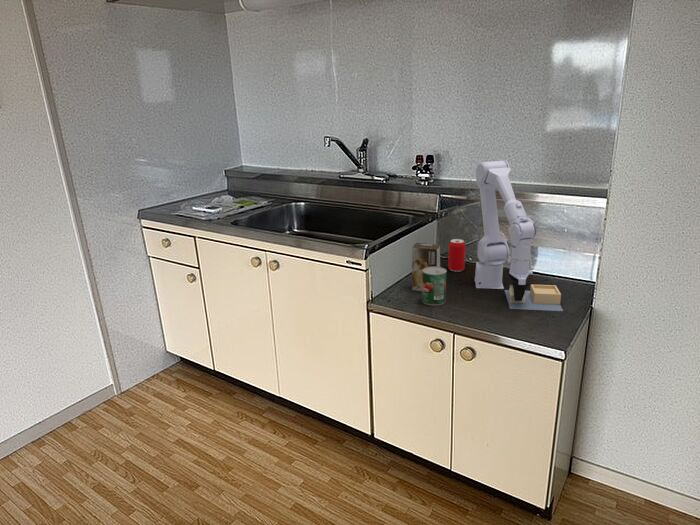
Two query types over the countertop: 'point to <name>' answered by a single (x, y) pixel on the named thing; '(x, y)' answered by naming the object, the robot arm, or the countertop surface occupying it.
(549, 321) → the countertop surface
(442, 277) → the canned tomato
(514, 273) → the robot arm
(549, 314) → the countertop surface
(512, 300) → the cream block
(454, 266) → the beverage can
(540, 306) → the board
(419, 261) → the coffee box
